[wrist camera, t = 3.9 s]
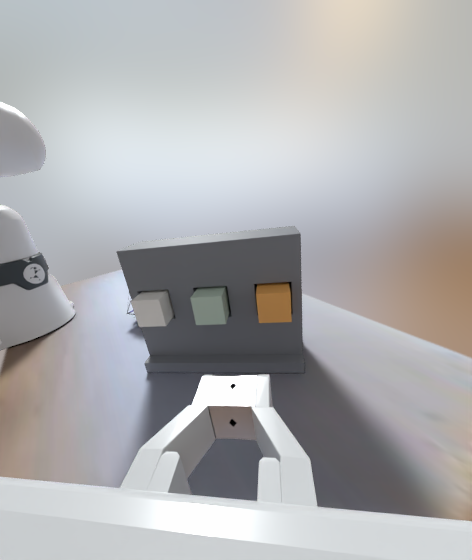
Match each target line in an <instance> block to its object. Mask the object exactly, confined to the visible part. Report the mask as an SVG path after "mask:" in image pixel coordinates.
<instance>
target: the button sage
mask: <svg viewBox="0 0 472 560" xmlns="http://www.w3.org/2000/svg"><path fill="white" fill-rule="evenodd" d="M190 299H191V303H192V308H193V313H194V317H195V322H196V325H216V324H226V322H227V319H228V316H229V313H230V306H229V299H228V292H227V286H214V287H198V288H197V289H196V291H195V292H194V293H193V295H192V296H191V298H190Z"/></svg>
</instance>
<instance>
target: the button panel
mask: <svg viewBox="0 0 472 560" xmlns="http://www.w3.org/2000/svg"><path fill="white" fill-rule="evenodd" d="M117 254H118V258H119V261H120V264H121V267H122V270H123V273H124V276H125V279H126V282H127V286H128V289H129V292H130V295H131V298H132V300H133V299H134V298H135V297H136V296H138V295H139V294H140V293H141V292H142V291H150V290H166V289H168V290H169V294H170V298H171V302H172V306H173V310H174V314H175V315H174V316H173V318H172V319H171V320H170V322H169V323H168V324H167V326H156V327H141V329H142V332H143V335H144V338H145V341H146V344H147V348H148V351H149V354H150V356H149V358H148V359H147V360H146V362H145V363H144V364H145V367H146V369H147V372H181V373H305V362H304V358H303V342H302V289H301V238H300V232H299V231H298V230H297V228H296V227H295V226H288V227H279V228H269V229H259V230H249V231H240V232H230V233H220V234H211V235H201V236H191V237H181V238H172V239H162V240H152V241H143V242H138V243H136V244H133V245H131V246H128V247H126V248H124V249H121V250H119V251H117ZM278 282H288V283H289V288H290V292H291V317H292V322H277V323H259V318H258V308H257V298H256V291H257V284H262V283H278ZM214 286H227V292H228V299H229V306H230V313H229V316H228V319H227V322H226V324H216V325H196V322H195V317H194V313H193V308H192V303H191V299H190V298H191V296H192V295H193V293H194V292H195V291H196V289H197V288H198V287H214Z"/></svg>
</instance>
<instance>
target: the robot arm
mask: <svg viewBox="0 0 472 560" xmlns="http://www.w3.org/2000/svg"><path fill="white" fill-rule="evenodd" d="M45 157H46V150H45V145H44V141H43V139H42V137H41V135H40V133H39V131H38V130H37V128H36V127H35V126H34V125H33V123H32V122H31V121H30V120H29V119H28V118H27V117H26V116H25V115H23V114H22V113H21V112H20V111H18V110H17V109H16V108H14V107H11V106H9V105H7V104H4V103H2V102H0V177H9V176H15V175H20V174H25V173H29V172H33V171H37V170H40V169H41V167H42V166H43V164H44V161H45ZM48 269H49V268H48V265H47V263H46V260H45V258H44V257H43V255H42V253H40V252H38V250H37V248H36V246H35V244H34V242H33V239H32V237H31V235H30V233H29V230H28V228H27V226H26V224H25V222H24V219H23V218H22V217H21V216H20V214H18V213H17V212H16V211H14V210H13V209H11V208H9V207H7V206H4V205H1V204H0V350H3V349H5V348H8V347H11V346H14V345H17V344H20V343H24V342H27V341H30V340H32V339H35V338H37V337H40V336H42V335H45V334H47V333H49V332H51V331H53V330H55V329H57V328H58V327H60V326H62V325H63V324H65V323H66V322H68V321H69V320H70V319H71V318H72V317H73V316H74V315H75V310H74V309H73V306H74V304H73V302H72V301H68V299H67V297H66V296H65V294H64V292H63V290H62V289H61V287H60V285H59V284H58V282H57V280H56V279H55V277H53V276H52V275H50V274H49V273H48ZM216 439H244V440H256V441H257V444H258V446H259V448H260V450H261V452H262V454H263V456H264V457H263V458H262V459H261V460H260V461H259V473H258V493H257V501H252V500H241V499H231V498H220V497H209V496H199V495H192V493H191V489H190V486H189V483H188V480H187V479H188V477H189V476H190V474H191V473H192V472H193V470H194V469H195V468H196V466H197V465H198V464H199V462H200V461H201V459H202V458H203V457H204V455H205V454H206V453H207V451H208V450H209V448H210V447H211V446H212V444H213V443H214V442H215V440H216ZM0 560H472V521H464V520H453V519H442V518H432V517H421V516H411V515H400V514H389V513H379V512H368V511H358V510H347V509H336V508H326V507H317V500H316V494H315V487H314V481H313V475H312V468H311V462H310V458H309V457H308V456H307V454H306V453H305V451H304V450H303V448H302V447H301V446H300V444H299V443H298V441H297V440H296V439H295V437H294V436H293V434H292V433H291V432H290V430H289V429H288V427H287V426H286V424H285V423H284V422H283V420H282V419H281V417H280V416H279V415H278V413H277V412H276V410H275V409H274V408H273V405H272V392H271V382H270V375H269V374H261V375H203V376H202V378H201V381H200V384H199V386H198V389H197V392H196V394H195V397H194V400H193V403H192V405H188V406H187V407H186V408H185V409H184V410H182V411H181V412H180V413H179V414H178V415H177V416H176V417H175V418H173V419H172V420H171V421H170V422H169V423H168V424H167V425H166V426H164V427H163V428H162V429H161V430H160V431H159V432H158V433H157V434H156V435H154V436H153V437H152V438H151V439H150V440H149V441H148V442H147V443H145V444H144V445H143V446H142V447H141V448H140V449H139V451H138V453H137V455H136V457H135V459H134V461H133V463H132V465H131V467H130V469H129V471H128V473H127V475H126V477H125V479H124V481H123V482H122V484H121V486H120V488H113V487H103V486H92V485H82V484H71V483H60V482H50V481H39V480H29V479H19V478H8V477H0Z"/></svg>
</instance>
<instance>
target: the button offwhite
mask: <svg viewBox="0 0 472 560" xmlns="http://www.w3.org/2000/svg"><path fill="white" fill-rule="evenodd" d="M131 304H132V307H133V310H134V313H135V316H136V319H137V322H138V325H139V327H156V326H167V324H168V323H169V322H170V320H171V319H172V318H173V316H174V315H175V314H174V310H173V306H172V302H171V298H170V294H169V290H168V289H166V290H150V291H142V292H141V293H140V294H139V295H138V296H136V297H135V298H134V299H133V300H131Z"/></svg>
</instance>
